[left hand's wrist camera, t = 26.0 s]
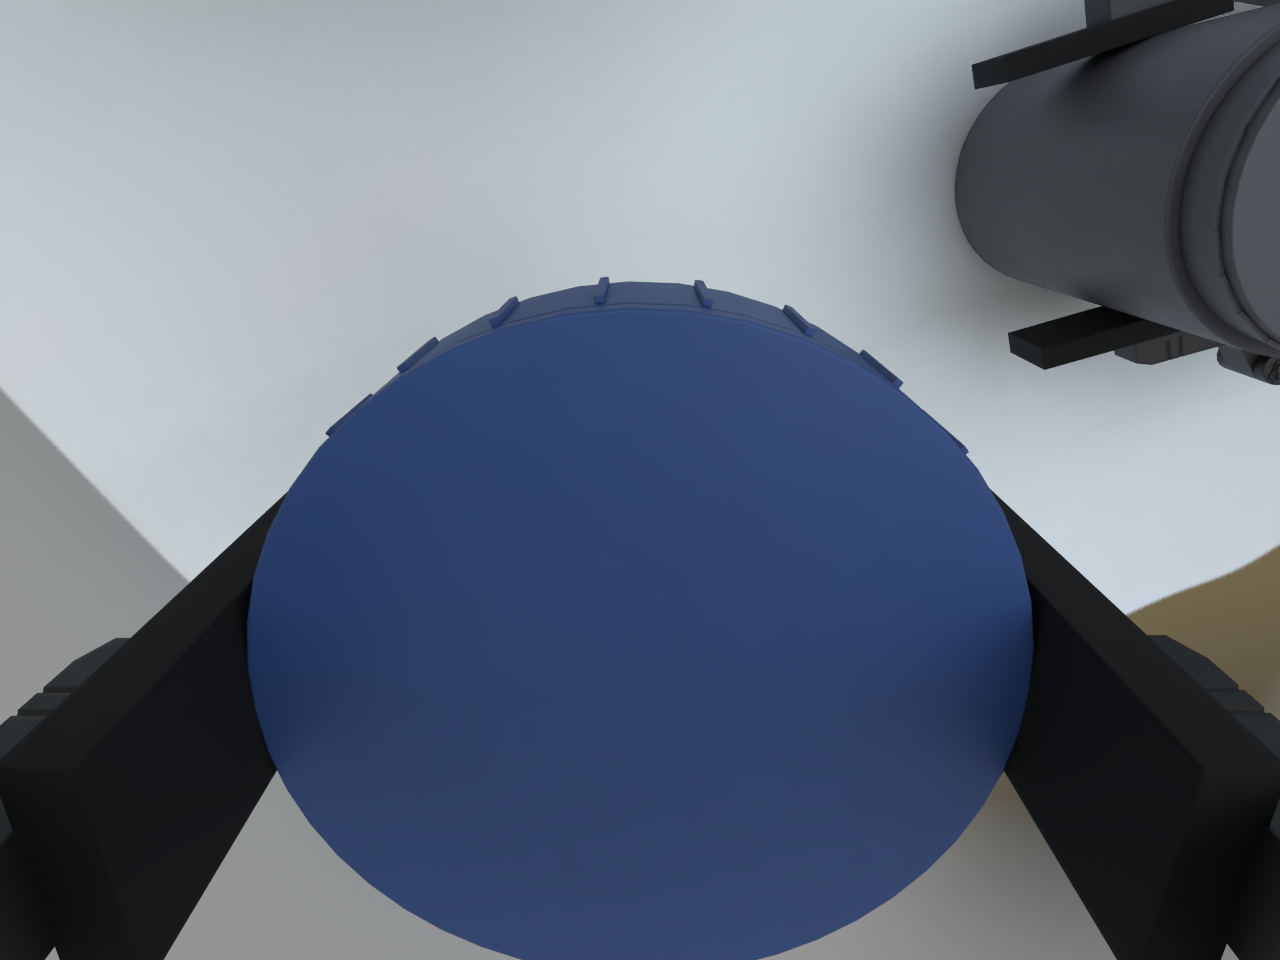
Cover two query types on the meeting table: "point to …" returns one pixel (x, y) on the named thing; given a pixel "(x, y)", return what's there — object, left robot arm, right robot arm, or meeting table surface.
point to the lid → (640, 631)
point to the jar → (1142, 180)
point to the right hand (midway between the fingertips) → (1009, 220)
